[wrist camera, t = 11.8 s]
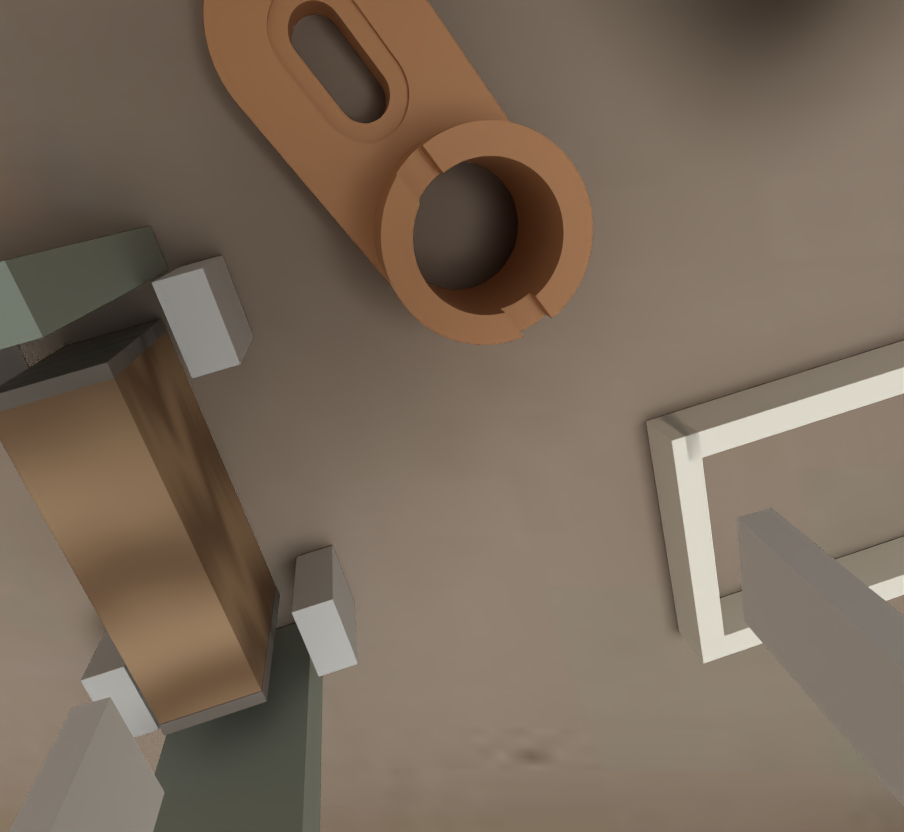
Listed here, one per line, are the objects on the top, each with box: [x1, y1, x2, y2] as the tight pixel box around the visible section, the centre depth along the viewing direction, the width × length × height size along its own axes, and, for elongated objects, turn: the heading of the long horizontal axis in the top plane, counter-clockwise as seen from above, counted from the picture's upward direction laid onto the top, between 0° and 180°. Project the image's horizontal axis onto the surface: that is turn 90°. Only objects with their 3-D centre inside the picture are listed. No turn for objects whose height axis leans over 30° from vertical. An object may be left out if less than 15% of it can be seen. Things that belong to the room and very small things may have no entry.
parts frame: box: [646, 340, 904, 663], centre depth 39 cm, size 15×25×3 cm, turn 105°
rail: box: [0, 319, 280, 735], centre depth 30 cm, size 16×4×8 cm, turn 15°
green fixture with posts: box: [0, 226, 358, 832], centre depth 27 cm, size 24×12×14 cm, turn 15°
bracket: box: [203, 0, 593, 345], centre depth 27 cm, size 18×8×7 cm, turn 39°
